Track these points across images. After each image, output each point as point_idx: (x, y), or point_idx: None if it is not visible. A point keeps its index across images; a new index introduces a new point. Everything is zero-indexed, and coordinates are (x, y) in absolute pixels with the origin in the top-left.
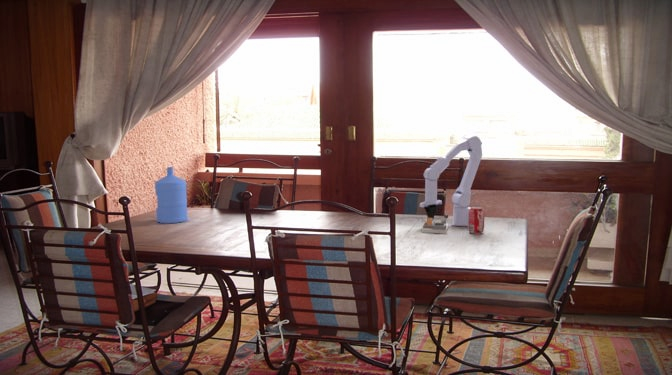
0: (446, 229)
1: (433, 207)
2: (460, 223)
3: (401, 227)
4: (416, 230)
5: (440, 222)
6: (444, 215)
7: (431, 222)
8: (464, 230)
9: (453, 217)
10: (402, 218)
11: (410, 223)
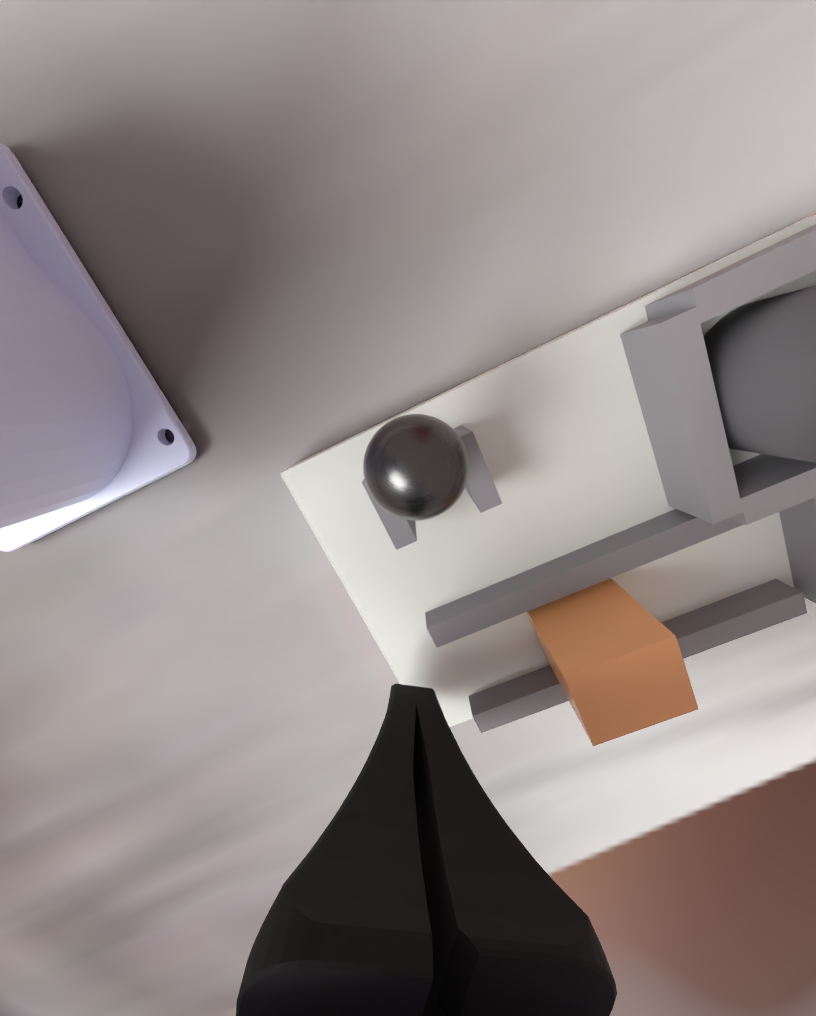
0: (700, 269)
1: (549, 958)
2: (87, 335)
3: (651, 825)
4: (748, 646)
5: (759, 395)
6: (456, 500)
7: (634, 600)
8: (409, 59)
9: (24, 504)
10: (230, 999)
11: None
